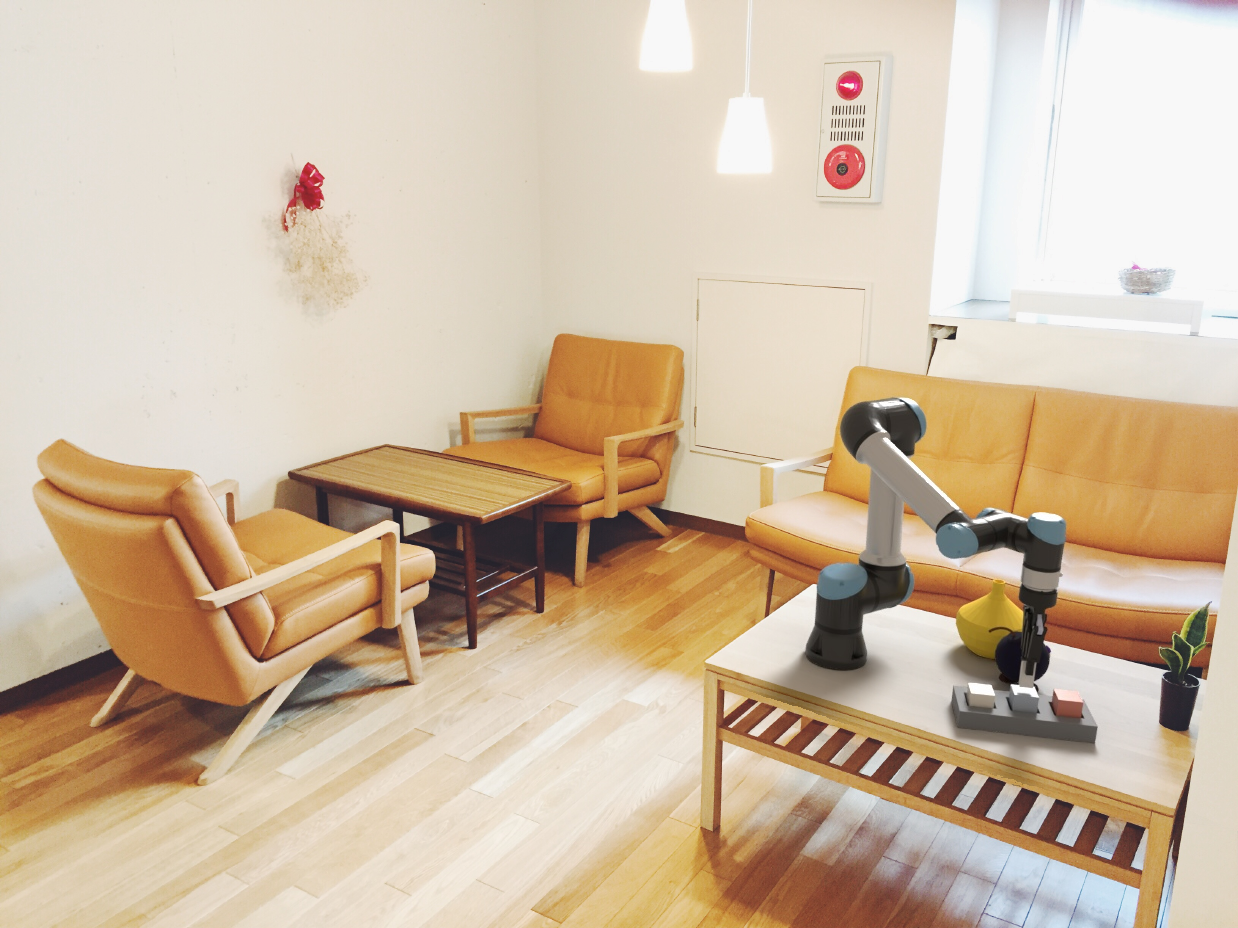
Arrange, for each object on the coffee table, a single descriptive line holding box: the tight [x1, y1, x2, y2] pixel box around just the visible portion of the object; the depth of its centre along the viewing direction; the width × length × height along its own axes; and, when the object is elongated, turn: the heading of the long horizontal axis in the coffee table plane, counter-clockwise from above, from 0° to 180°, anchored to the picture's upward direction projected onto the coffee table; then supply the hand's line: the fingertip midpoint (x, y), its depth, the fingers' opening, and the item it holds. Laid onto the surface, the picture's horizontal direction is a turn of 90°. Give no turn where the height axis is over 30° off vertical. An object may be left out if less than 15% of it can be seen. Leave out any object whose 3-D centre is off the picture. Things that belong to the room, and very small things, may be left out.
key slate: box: [1009, 683, 1039, 713], centre depth 216 cm, size 5×5×4 cm
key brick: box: [1051, 688, 1083, 718], centre depth 214 cm, size 5×5×4 cm
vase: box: [955, 578, 1023, 660], centre depth 249 cm, size 18×18×19 cm
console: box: [951, 684, 1098, 744], centre depth 217 cm, size 28×12×4 cm, turn 78°
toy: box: [989, 627, 1052, 693], centre depth 232 cm, size 12×14×15 cm
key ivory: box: [966, 682, 995, 708], centre depth 218 cm, size 5×5×4 cm
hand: (1025, 685), depth 215 cm, fingers closed
